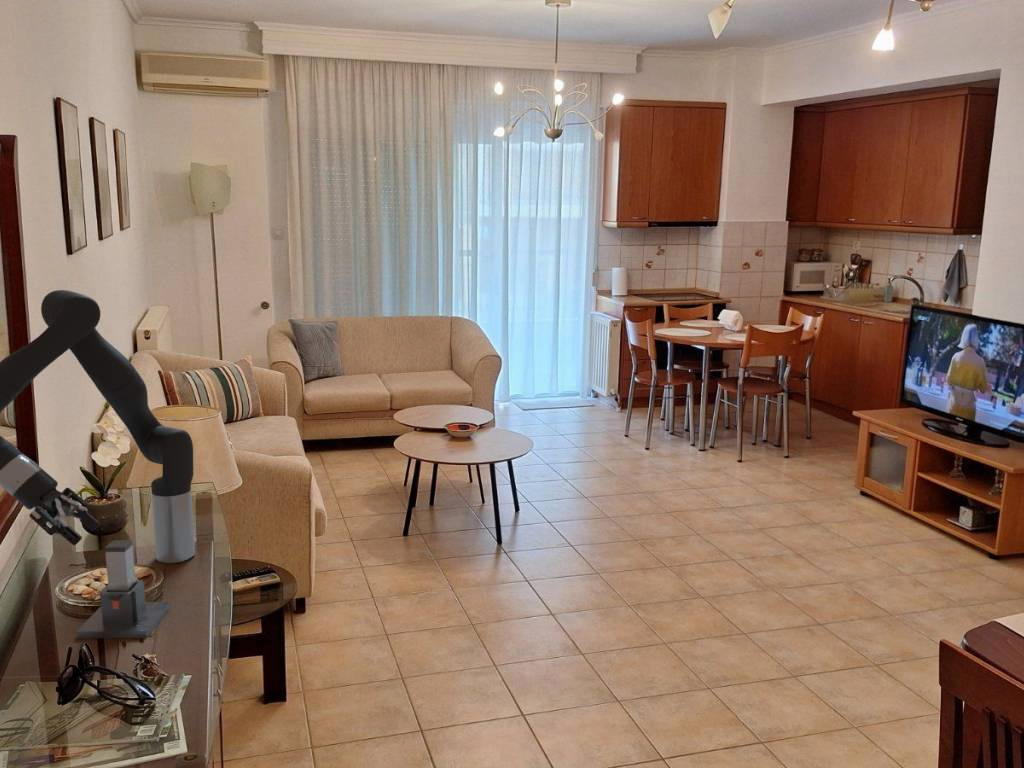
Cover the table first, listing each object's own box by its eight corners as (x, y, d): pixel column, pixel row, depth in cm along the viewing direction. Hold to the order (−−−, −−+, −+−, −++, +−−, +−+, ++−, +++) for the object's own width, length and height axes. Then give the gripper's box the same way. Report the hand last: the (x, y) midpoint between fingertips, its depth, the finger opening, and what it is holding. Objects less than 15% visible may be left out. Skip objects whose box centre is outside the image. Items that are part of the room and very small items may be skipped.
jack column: (118, 610, 192) (112, 540, 189) (137, 610, 192) (132, 540, 189) (110, 619, 188) (104, 547, 185) (130, 619, 188) (124, 547, 185)
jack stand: (105, 608, 197) (102, 574, 196) (170, 608, 198) (167, 573, 196) (76, 638, 184) (73, 601, 182) (146, 637, 184) (143, 600, 183)
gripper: (20, 478, 177) (84, 534, 180) (54, 459, 191) (114, 511, 194) (-5, 504, 178) (60, 559, 180) (31, 483, 192) (90, 534, 194)
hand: (87, 534), depth 187 cm, fingers open, 8 cm apart
